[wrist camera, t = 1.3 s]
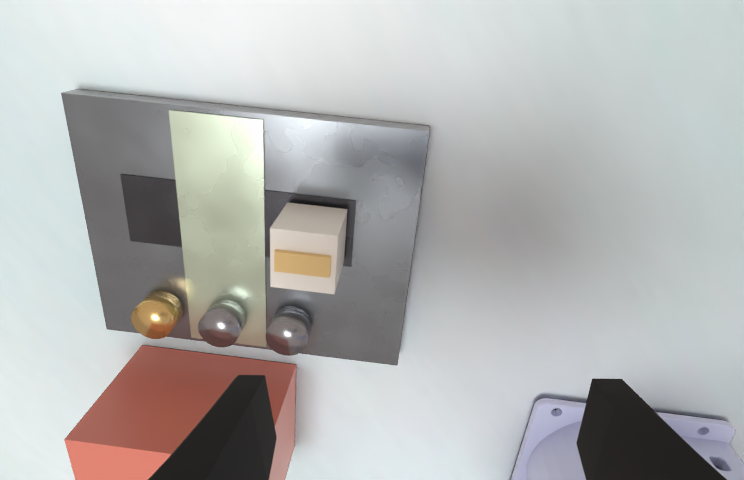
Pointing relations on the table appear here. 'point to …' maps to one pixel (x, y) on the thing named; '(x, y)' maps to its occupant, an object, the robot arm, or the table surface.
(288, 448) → the cap
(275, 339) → the panel
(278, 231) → the block
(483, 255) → the table surface
